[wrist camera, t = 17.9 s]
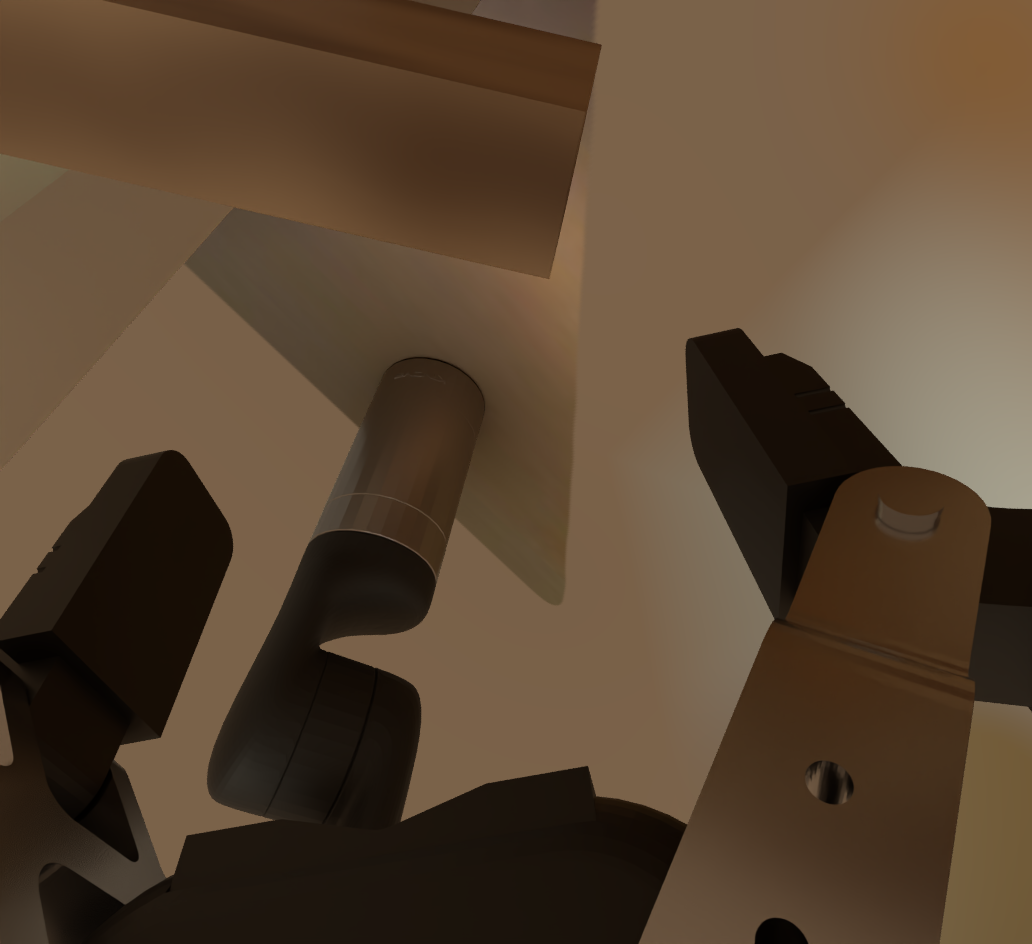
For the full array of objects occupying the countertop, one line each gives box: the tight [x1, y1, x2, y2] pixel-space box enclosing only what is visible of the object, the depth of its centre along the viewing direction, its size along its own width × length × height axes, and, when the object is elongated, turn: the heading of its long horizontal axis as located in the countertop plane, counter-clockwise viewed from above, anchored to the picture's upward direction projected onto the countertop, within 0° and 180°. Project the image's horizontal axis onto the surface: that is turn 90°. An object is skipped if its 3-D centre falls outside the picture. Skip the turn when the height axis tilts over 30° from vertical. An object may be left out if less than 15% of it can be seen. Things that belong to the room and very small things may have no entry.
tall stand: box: [0, 154, 234, 471], centre depth 28 cm, size 7×14×32 cm, turn 91°
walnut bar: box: [0, 0, 601, 279], centre depth 16 cm, size 4×22×4 cm, turn 82°
